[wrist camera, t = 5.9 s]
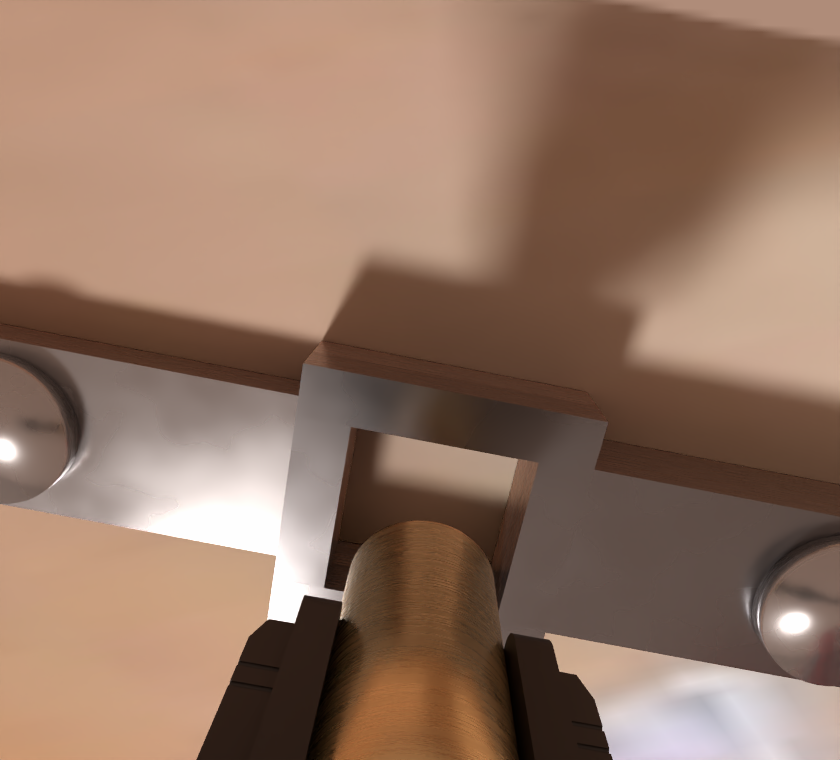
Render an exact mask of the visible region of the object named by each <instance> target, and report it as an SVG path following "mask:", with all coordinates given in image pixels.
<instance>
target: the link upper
mask: <svg viewBox="0 0 840 760" xmlns="http://www.w3.org/2000/svg"><path fill="white" fill-rule="evenodd" d="M607 426H608V421H607V419H606V418H605V417H604V415H603V414H602V412H601V411H600V410H599V408H598V407H597V406H594V405H589V404H584V403H579V402H574V401H568V400H563V399H558V398H553V397H548V396H542V395H537V394H532V393H527V392H522V391H517V390H511V389H506V388H501V387H496V386H491V385H486V384H480V383H475V382H470V381H465V380H460V379H455V378H449V377H444V376H439V375H434V374H429V373H424V372H418V371H413V370H408V369H403V368H398V367H392V366H387V365H382V364H377V363H372V362H367V361H361V360H356V359H351V358H346V357H341V356H336V355H330V354H325V353H320V352H315V351H313V352H312V353H311V354H310V356H309V357H308V358H307V359H306V360H305V362H304V363H303V367H302V375H301V382H300V389H299V396H298V404H297V411H296V418H295V425H294V432H293V440H292V447H291V454H290V461H289V468H288V476H287V483H286V490H285V497H284V505H283V512H282V519H281V526H280V533H279V541H278V548H277V555H276V562H275V569H274V577H273V584H272V591H271V598H270V606H269V613H268V619H273V620H279V621H284V622H290V623H295V620H296V617H297V614H298V611H299V608H300V605H301V602H302V600H303V597H304V595H308V596H314V597H319V598H325V599H330V600H336V601H341V602H342V598H343V594H344V590H345V585H346V581H347V577H348V573H349V569H350V566H346V565H341V564H335V563H332V557H333V551H334V546H335V540H336V534H337V528H338V522H339V516H340V510H341V504H342V499H343V493H344V487H345V481H346V475H347V469H348V463H349V457H350V451H351V446H352V440H353V434H354V428H359V429H364V430H370V431H375V432H380V433H385V434H391V435H396V436H401V437H406V438H411V439H417V440H422V441H427V442H432V443H438V444H443V445H448V446H453V447H459V448H464V449H469V450H474V451H479V452H485V453H490V454H495V455H500V456H506V457H511V458H516V459H521V460H527V461H528V462H527V466H526V470H525V473H524V477H523V481H522V485H521V489H520V492H519V496H518V500H517V504H516V507H515V511H514V515H513V519H512V523H511V526H510V530H509V534H508V538H507V541H506V545H505V549H504V553H503V557H502V560H501V564H500V568H499V572H498V575H497V579H496V583H495V590H496V597H497V605H498V612H499V619H500V626H501V633H502V640H503V648H504V647H505V643H506V640H507V637H508V636H509V634H510V633H514V634H520V635H525V636H530V637H536V638H541V639H543V638H544V635H545V632H546V633H551V634H556V635H562V636H567V637H573V638H578V639H583V640H589V641H594V642H600V643H605V644H610V645H616V646H621V647H626V648H632V649H637V650H643V651H648V652H653V653H659V654H664V655H669V656H675V657H680V658H686V659H691V660H696V661H702V662H707V663H713V664H718V665H723V666H729V667H734V668H739V669H745V670H750V671H756V672H761V673H766V674H772V675H777V676H782V677H788V678H793V679H799V680H803V681H805V682H808V683H812V684H816V685H823V686H836V687H840V485H838V484H832V483H827V482H822V481H817V480H812V479H806V478H801V477H796V476H791V475H786V474H780V473H775V472H770V471H765V470H760V469H754V468H749V467H744V466H739V465H734V464H728V463H723V462H718V461H713V460H708V459H702V458H697V457H692V456H687V455H682V454H676V453H671V452H666V451H661V450H656V449H650V448H645V447H640V446H635V445H630V444H624V443H619V442H614V441H609V440H604V436H605V432H606V429H607Z"/></svg>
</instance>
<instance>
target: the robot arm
mask: <svg viewBox="0 0 840 760" xmlns="http://www.w3.org/2000/svg"><path fill="white" fill-rule="evenodd" d="M342 604H343V602H341V601H336V600H330V599H325V598H319V597H314V596H308V595H304V597H303V600H302V602H301V605H300V608H299V611H298V614H297V617H296V620H295V623H290V622H284V621H279V620H273V619H268V620H267V621H266V622H265V623H264V624H263V625H262V626H260V627H259V628H258V629H257V630H256V631H255V632H254V633H253V634H252V635H250V636H249V638H248V640H247V643H246V645H245V647H244V650H243V652H242V654H241V657H240V659H239V662H238V665H237V666H236V668H235V671H234V673H233V675H232V678H231V680H230V684H229V686H228V687H227V689H226V692H225V694H224V697H223V699H222V701H221V704H220V706H219V708H218V711H217V713H216V715H215V718H214V720H213V722H212V725H211V727H210V729H209V732H208V734H207V736H206V739H205V741H204V743H203V746H202V748H201V750H200V753H199V755H198V757H197V760H307V758H308V754H309V750H310V745H311V741H312V737H313V732H314V728H315V724H316V720H317V715H318V711H319V707H320V702H321V698H322V694H323V689H324V685H325V681H326V677H327V672H328V668H329V664H330V659H331V655H332V651H333V646H334V642H335V638H336V634H337V629H338V625H339V621H340V615H341V610H342ZM504 655H505V662H506V669H507V676H508V684H509V691H510V698H511V705H512V712H513V719H514V727H515V734H516V741H517V748H518V755H519V760H613V759H612V756H611V754H609V746H608V743H607V740H606V736H605V733H604V731H602V723H601V720H600V716H599V713H598V710H597V707H596V703H595V700H594V698H593V697H592V696H591V694H590V693H589V692H588V690H587V689H586V687H585V686H584V685H583V683H582V682H581V681H580V679H579V678H578V677H577V675H574V674H568V673H563V672H559V669H558V665H557V661H556V657H555V653H554V649H553V645H552V643H551V641H550V640H547V639H541V638H536V637H530V636H525V635H520V634H514V633H510V634H509V636H508V637H507V640H506V643H505V647H504Z"/></svg>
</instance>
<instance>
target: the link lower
mask: <svg viewBox="0 0 840 760" xmlns="http://www.w3.org/2000/svg"><path fill="white" fill-rule="evenodd" d="M314 351H315V352H320V353H325V354H330V355H336V356H341V357H346V358H351V359H356V360H361V361H367V362H372V363H377V364H382V365H387V366H392V367H398V368H403V369H408V370H413V371H418V372H424V373H429V374H434V375H439V376H444V377H449V378H455V379H460V380H465V381H470V382H475V383H480V384H486V385H491V386H496V387H501V388H506V389H511V390H517V391H522V392H527V393H532V394H537V395H542V396H548V397H553V398H558V399H563V400H568V401H574V402H579V403H584V404H589V405H594V406H597V405H596V404H595V403H594V401H593V400H592V399H591V397H590V396H589V394H588V393H587V392H584V391H579V390H574V389H569V388H564V387H558V386H553V385H548V384H543V383H538V382H533V381H528V380H522V379H517V378H512V377H507V376H502V375H497V374H491V373H486V372H481V371H476V370H471V369H466V368H460V367H455V366H450V365H445V364H440V363H435V362H429V361H424V360H419V359H414V358H409V357H404V356H398V355H393V354H388V353H383V352H378V351H373V350H367V349H362V348H357V347H352V346H347V345H342V344H337V343H331V342H326V341H321V342H320V344H319V345H318V346H317V347H316V348H315V350H314ZM300 382H301V381H297V380H292V379H286V378H281V377H276V376H271V375H266V374H260V373H255V372H250V371H245V370H240V369H234V368H229V367H224V366H219V365H214V364H208V363H203V362H198V361H193V360H188V359H182V358H177V357H172V356H167V355H162V354H156V353H151V352H146V351H141V350H136V349H130V348H125V347H120V346H115V345H110V344H104V343H99V342H94V341H89V340H84V339H78V338H73V337H68V336H63V335H58V334H52V333H47V332H42V331H37V330H32V329H26V328H21V327H16V326H11V325H6V324H0V504H3V505H9V506H14V507H19V508H25V509H30V510H35V511H41V512H46V513H51V514H57V515H62V516H67V517H73V518H78V519H84V520H89V521H94V522H100V523H105V524H110V525H116V526H121V527H126V528H132V529H137V530H142V531H148V532H153V533H159V534H164V535H169V536H175V537H180V538H185V539H191V540H196V541H201V542H207V543H212V544H217V545H223V546H228V547H233V548H239V549H244V550H250V551H255V552H260V553H266V554H271V555H277V548H278V541H279V533H280V526H281V519H282V512H283V505H284V497H285V490H286V483H287V476H288V468H289V461H290V454H291V447H292V440H293V432H294V425H295V418H296V411H297V404H298V396H299V389H300ZM357 429H358V428H354V434H353V440H352V446H351V451H350V457H349V463H348V469H347V475H346V481H345V487H344V493H343V499H342V504H341V510H340V516H339V522H338V528H337V534H336V540H335V546H334V551H333V557H332V563H335V564H341V565H346V566H350V565H351V563H352V560H353V558H354V556H355V554H356V553H357V551H358V549H359V548H360V547H361V546H362V545H359V544H354V543H349V542H343V541H338V540H339V534H340V528H341V522H342V516H343V511H344V505H345V499H346V493H347V487H348V481H349V476H350V470H351V464H352V458H353V452H354V446H355V441H356V435H357ZM527 462H528V461H527V460H521V459H518V463H517V467H516V471H515V474H514V478H513V482H512V486H511V490H510V494H509V497H508V501H507V505H506V509H505V513H504V517H503V521H502V524H501V528H500V532H499V536H498V540H497V544H496V548H495V551H494V555H493V559H492V563H491V568H492V571H493V576H494V583H496V579H497V575H498V572H499V568H500V564H501V560H502V557H503V553H504V549H505V545H506V541H507V538H508V534H509V530H510V526H511V523H512V519H513V515H514V511H515V507H516V504H517V500H518V496H519V492H520V489H521V485H522V481H523V477H524V473H525V470H526V466H527Z"/></svg>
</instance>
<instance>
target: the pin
mask: <svg viewBox="0 0 840 760" xmlns="http://www.w3.org/2000/svg"><path fill="white" fill-rule="evenodd" d="M342 602H343V604H342V610H341V615H340V621H339V625H338V629H337V634H336V638H335V642H334V646H333V651H332V655H331V659H330V664H329V668H328V672H327V677H326V681H325V685H324V689H323V694H322V698H321V702H320V707H319V711H318V715H317V720H316V724H315V728H314V732H313V737H312V741H311V745H310V750H309V754H308V758H307V760H519V755H518V748H517V741H516V734H515V727H514V719H513V712H512V705H511V698H510V691H509V684H508V676H507V669H506V662H505V655H504V648H503V640H502V633H501V626H500V619H499V612H498V605H497V597H496V590H495V583H494V576H493V571H492V568H491V565H490V563H489V560H488V558H487V557H486V555H485V553H484V552H483V550H482V549H481V548H480V547H479V546H478V544H477V543H476V542H474V541H473V540H472V539H471V538H470V537H469V536H467V535H466V534H464V533H463V532H461V531H459V530H457V529H455V528H453V527H451V526H448V525H445V524H442V523H438V522H432V521H406V522H402V523H397V524H394V525H391V526H388V527H386V528H384V529H382V530H380V531H378V532H377V533H375V534H374V535H372V536H371V537H370V538H369V539H368V540H367V541H365V542H364V543H363V545H362V546H361V547H360V548H359V549H358V551H357V553H356V554H355V556H354V558H353V560H352V563H351V565H350V569H349V573H348V577H347V581H346V585H345V590H344V594H343V598H342Z"/></svg>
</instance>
